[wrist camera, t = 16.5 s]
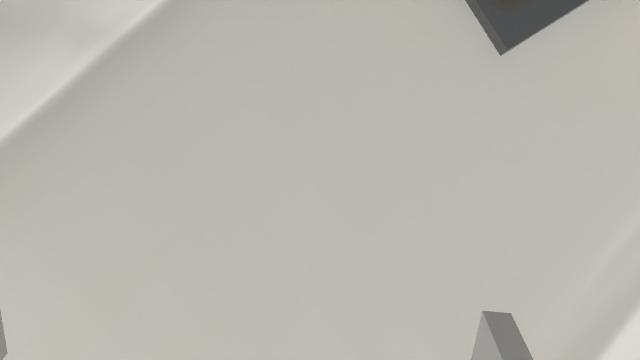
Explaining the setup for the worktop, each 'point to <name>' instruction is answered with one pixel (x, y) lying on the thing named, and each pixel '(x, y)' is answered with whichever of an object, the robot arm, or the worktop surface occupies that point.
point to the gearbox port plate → (518, 18)
